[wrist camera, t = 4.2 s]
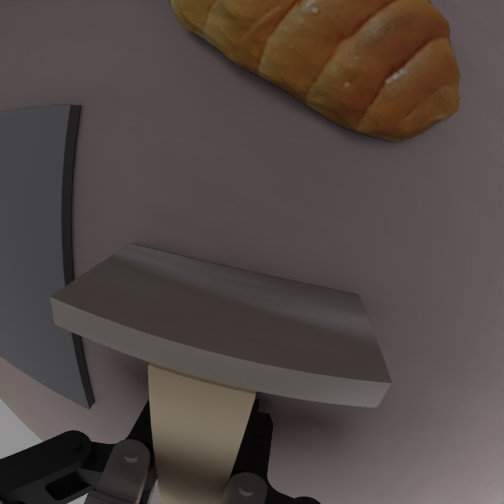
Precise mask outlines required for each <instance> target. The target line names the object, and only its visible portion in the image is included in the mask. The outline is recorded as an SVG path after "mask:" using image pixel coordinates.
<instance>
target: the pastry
mask: <svg viewBox="0 0 504 504" xmlns="http://www.w3.org/2000/svg"><path fill="white" fill-rule="evenodd" d="M170 1H171V6H172V9H173V11H174V13H175V15H176V16H177V18H178V20H179V22H180V23H181V24H182V25H183V26H184V27H185V28H186V29H187V30H189V31H191V32H193V33H195V34H197V35H198V36H200V37H202V38H204V39H205V40H206V41H207V42H208V43H210V44H211V45H213V46H214V47H216V48H217V49H219V50H220V51H221V52H222V53H223V54H224V55H225V56H226V57H227V58H228V59H230V60H231V61H232V62H234V63H235V64H237V65H239V66H241V67H243V68H244V69H246V70H248V71H251V72H253V73H255V74H257V75H259V76H260V77H262V78H264V79H265V80H267V81H269V82H271V83H273V84H275V85H277V86H278V87H280V88H282V89H284V90H285V91H287V92H288V93H290V94H291V95H292V96H294V97H295V98H297V99H299V100H301V101H303V102H304V103H305V104H307V105H308V106H309V107H310V108H312V109H314V110H315V111H317V112H319V113H320V114H322V115H324V116H325V117H327V118H328V119H330V120H331V121H333V122H335V123H336V124H338V125H340V126H343V127H345V128H348V129H351V130H354V131H356V132H360V133H364V134H367V135H369V136H372V137H376V138H380V139H385V140H389V141H394V142H399V141H404V140H407V139H409V138H412V137H414V136H416V135H419V134H421V133H423V132H425V131H426V130H428V129H429V128H430V127H432V126H433V125H434V124H436V123H439V122H441V121H443V120H446V119H447V118H449V117H450V116H452V115H453V114H454V113H455V112H456V111H457V110H458V108H459V98H460V97H459V93H458V88H459V82H460V71H459V68H458V66H457V61H456V58H455V54H454V51H453V49H452V45H451V42H450V38H449V36H450V28H449V23H448V21H447V20H446V19H445V18H444V17H443V15H442V14H441V13H440V12H439V11H438V10H437V9H436V8H435V7H434V5H433V4H432V3H431V1H430V0H170Z"/></svg>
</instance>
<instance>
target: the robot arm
mask: <svg viewBox="0 0 504 504" xmlns="http://www.w3.org/2000/svg"><path fill="white" fill-rule="evenodd" d="M259 401H260V400H259V399H255V400H254V403H253V406H252V409H251V413H250V416H249V419H248V422H247V426H246V429H245V432H244V435H243V438H242V441H241V445H240V448H239V451H238V454H237V457H236V460H235V463H234V466H233V469H232V472H231V475H230V478H229V481H228V482H227V485H226V488H225V491H224V494H223V497H222V500H221V502H220V504H320V503H319V502H318V501H317V500H315V499H313V498H310V497H297V498H295V499H294V498H292V497H289V496H287V495H284V494H282V493H280V492H278V491H276V490H275V489H274V488H273V487H272V486H271V485H270V483H269V482H268V479H267V471H268V463H269V455H270V448H271V439H272V431H273V422H272V419H271V417H270V414H267V413H262V412H258V407H259ZM156 479H157V472H156V465H155V456H154V448H153V438H152V428H151V416H150V402H149V400H148V402H147V403H146V405H145V407H144V409H143V411H142V412H141V414H140V416H139V418H138V419H137V421H136V423H135V425H134V427H133V428H132V430H131V432H130V434H129V435H128V437H127V438H126V439H125V440H122V441H120V442H118V443H116V444H104V443H98V442H92V441H91V440H90V439H89V437H88V436H87V435H85V434H84V433H82V432H80V431H75V430H71V431H67V432H64V433H62V434H60V435H58V436H56V437H53V438H51V439H49V440H46V441H44V442H42V443H40V444H37V445H35V446H32V447H30V448H28V449H25V450H23V451H20V452H18V453H15V454H13V455H10V456H8V457H5V458H2V459H0V504H67V503H69V502H71V501H73V500H75V499H77V498H79V497H81V496H83V495H85V494H87V493H88V495H87V497H86V500H85V502H84V504H150V501H151V497H152V493H153V490H154V486H155V482H156Z"/></svg>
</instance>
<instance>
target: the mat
mask: <svg viewBox="0 0 504 504" xmlns="http://www.w3.org/2000/svg"><path fill="white" fill-rule="evenodd" d="M79 112H80V106H76V105H60V106H48V107H37V108H28V109H20V110H13V111H6V112H0V356H1V357H2V358H4V359H5V360H7V361H8V362H9V363H11V364H12V365H14V366H15V367H17V368H18V369H20V370H21V371H23V372H24V373H26V374H27V375H29V376H30V377H32V378H34V379H35V380H37V381H39V382H40V383H42V384H43V385H45V386H47V387H49V388H50V389H52V390H54V391H55V392H57V393H59V394H61V395H63V396H64V397H66V398H68V399H70V400H72V401H74V402H76V403H78V404H80V405H82V406H84V407H86V408H88V409H90V408H91V406H92V405H93V404H94V400H93V396H92V392H91V388H90V384H89V380H88V375H87V371H86V366H85V361H84V356H83V350H82V345H81V339H80V335H77V334H75V333H73V332H71V331H68V330H66V329H64V328H62V327H60V326H58V325H55V324H54V318H53V312H52V306H51V299H50V297H51V296H52V295H54V294H55V293H56V292H58V291H59V290H61V289H62V288H64V287H65V286H67V285H68V284H70V283H71V282H73V269H72V251H71V193H72V174H73V161H74V151H75V141H76V133H77V126H78V119H79Z"/></svg>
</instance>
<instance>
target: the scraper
mask: <svg viewBox="0 0 504 504" xmlns="http://www.w3.org/2000/svg"><path fill="white" fill-rule="evenodd" d="M50 299H51V306H52V312H53V318H54V324H55V325H58V326H60V327H62V328H64V329H66V330H68V331H71V332H73V333H75V334H77V335H80V336H82V337H84V338H87V339H89V340H91V341H94V342H96V343H99V344H101V345H104V346H106V347H109V348H111V349H114V350H117V351H119V352H122V353H125V354H127V355H130V356H133V357H136V358H139V359H141V360H144V361H147V362H149V364H148V384H149V402H150V416H151V428H152V438H153V448H154V456H155V465H156V472H157V479H158V486H159V492H160V498H161V504H220V502H221V500H222V497H223V494H224V491H225V488H226V485H227V482H228V481H229V478H230V475H231V472H232V469H233V466H234V463H235V460H236V457H237V454H238V451H239V448H240V445H241V441H242V438H243V435H244V432H245V429H246V426H247V422H248V419H249V416H250V413H251V409H252V406H253V403H254V400H255V396H256V392H257V391H258V392H262V393H267V394H273V395H278V396H284V397H289V398H295V399H301V400H308V401H315V402H322V403H330V404H338V405H347V406H358V407H369V408H377V407H378V406H379V404H380V403H381V401H382V399H383V398H384V396H385V395H386V393H387V391H388V390H389V388H390V386H391V385H392V382H391V379H390V376H389V373H388V370H387V367H386V364H385V362H384V359H383V356H382V354H381V351H380V348H379V346H378V343H377V340H376V338H375V335H374V332H373V330H372V327H371V325H370V322H369V320H368V317H367V315H366V312H365V310H364V307H363V305H362V303H361V300H360V298H359V295H358V294H353V293H348V292H343V291H338V290H334V289H329V288H324V287H319V286H315V285H310V284H305V283H300V282H296V281H291V280H287V279H282V278H277V277H273V276H268V275H264V274H259V273H255V272H250V271H246V270H241V269H237V268H232V267H228V266H224V265H219V264H215V263H211V262H206V261H202V260H198V259H193V258H189V257H185V256H181V255H176V254H172V253H168V252H164V251H159V250H155V249H151V248H147V247H143V246H139V245H135V244H130V245H129V246H127V247H125V248H124V249H122V250H120V251H119V252H117V253H116V254H114V255H112V256H111V257H109V258H108V259H106V260H105V261H103V262H101V263H100V264H98V265H97V266H95V267H94V268H92V269H91V270H89V271H88V272H86V273H85V274H83V275H82V276H80V277H79V278H77V279H76V280H74V281H73V282H71V283H70V284H68V285H67V286H65V287H64V288H62V289H61V290H59V291H58V292H56V293H55V294H54V295H52V296H51V297H50Z"/></svg>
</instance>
